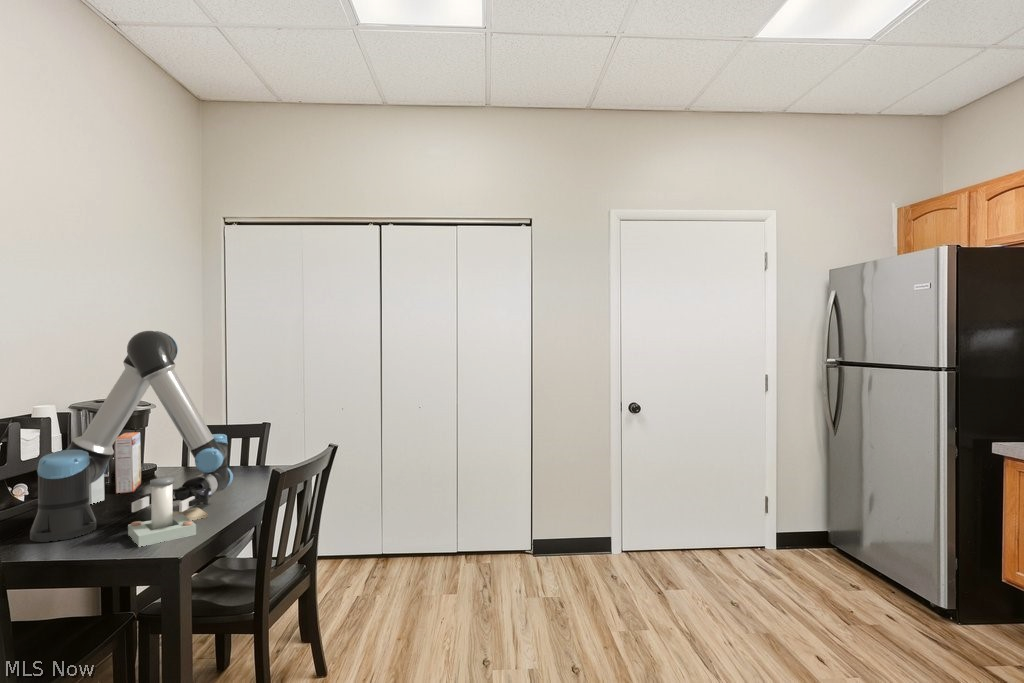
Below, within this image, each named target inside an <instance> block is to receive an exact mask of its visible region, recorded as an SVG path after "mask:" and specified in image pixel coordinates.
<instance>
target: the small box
mask: <svg viewBox="0 0 1024 683" xmlns="http://www.w3.org/2000/svg"><path fill="white" fill-rule="evenodd" d="M100 501H101V502H103V501H105V473H104V474H103V475H102V476H101V477H100V478H99V479H98V480H96V481H95V482H93V483H91V484H89V504H92V505H94V504H93V503H95V504H97V502H98V503H100Z"/></svg>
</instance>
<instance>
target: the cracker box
mask: <svg viewBox="0 0 1024 683" xmlns="http://www.w3.org/2000/svg"><path fill="white" fill-rule="evenodd" d="M141 454H142V453H141V432H140V431H136V432H124V433H122V434H121V435H118V437H117V439H116V440H115V442H114V455H115V456H114V458H115V460H114V461H115V462H114V463H115V464H114V465H115V470H114V471H115V494H118V493H120V494H127V493H134V492H135V491H136V489H137V488H139V486H140V485H141V484H142V468H141V467H142V463H141V461H142V460H141V458H142V457H141V456H142V455H141Z"/></svg>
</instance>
